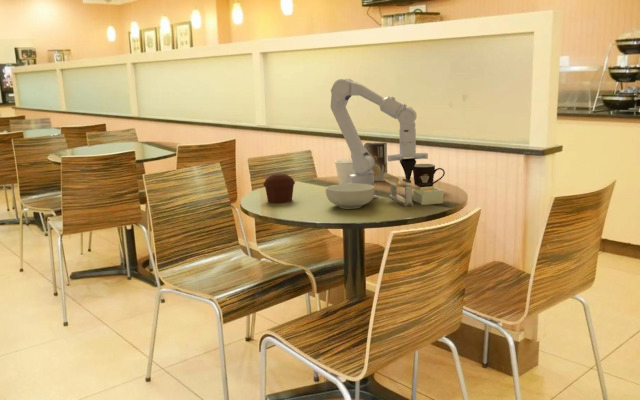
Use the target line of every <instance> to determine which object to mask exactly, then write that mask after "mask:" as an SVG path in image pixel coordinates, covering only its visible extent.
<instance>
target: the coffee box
mask: <svg viewBox="0 0 640 400" xmlns="http://www.w3.org/2000/svg"><path fill="white" fill-rule="evenodd" d="M363 146H364V147H365V148H366V149H367V151H368V153H369V154H370V155H371V156H372V157H373V158H374V160H375V165H374V167H373V168H372V170H373V172H374V182H385V181H384V180H383V176H384V172H386V173H388V150H387V149H388V148H387V147H388V146H387V142H365V143H364V144H363Z"/></svg>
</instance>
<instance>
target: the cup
mask: <svg viewBox="0 0 640 400" xmlns="http://www.w3.org/2000/svg"><path fill="white" fill-rule="evenodd" d="M334 164H335V169H336V175H337V180H338V184H348V176H349V175H352V174H354V172H355V171H354V169H353V161H352V159H351V158H346V159H344V158H343V159H342V158H341V159H336V160H334Z"/></svg>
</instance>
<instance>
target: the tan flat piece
mask: <svg viewBox="0 0 640 400" xmlns="http://www.w3.org/2000/svg"><path fill="white" fill-rule="evenodd" d="M383 180H384V181H383V182H386V183H388V184H392V185H394V186H397V187H399V188H404V189H405V186H407V185H411V186H412V190H415V189H416V190H420V187H419V186H416V185H415V184H413V183H412V180H411V179H410V180H407V179H406V178H402V179H400V178H399V177H397V176H394V175H392V174H391V173H389V172H387V173H386V172H384V176H383Z"/></svg>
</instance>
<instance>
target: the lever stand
mask: <svg viewBox="0 0 640 400" xmlns="http://www.w3.org/2000/svg"><path fill="white" fill-rule="evenodd" d="M389 184H390V183H389ZM389 186H390V194H389V195H388V197H389V198H390V199H392V200H393V201H395V202H396V203H398V204H400V205H401V206H404V207H414V202H413V189H412V186H411V185H407V186H405V188H404V197H403V196H401V195H399V194H398V193H397V192H398V189H397V187H398V186H394V185H392V184H390V185H389Z"/></svg>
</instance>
